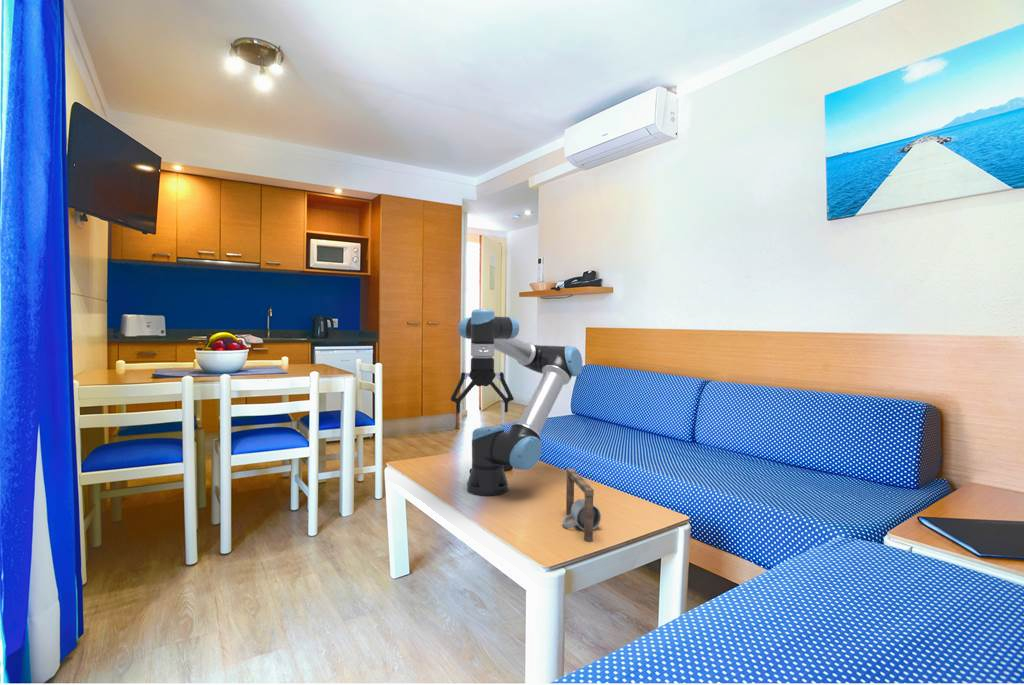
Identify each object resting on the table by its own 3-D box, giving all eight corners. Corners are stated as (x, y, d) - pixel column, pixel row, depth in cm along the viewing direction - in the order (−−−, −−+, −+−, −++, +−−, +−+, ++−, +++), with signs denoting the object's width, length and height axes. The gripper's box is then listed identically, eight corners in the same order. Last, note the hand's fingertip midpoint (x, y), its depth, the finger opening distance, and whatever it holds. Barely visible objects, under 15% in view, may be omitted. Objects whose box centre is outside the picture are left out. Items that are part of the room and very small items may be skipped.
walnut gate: (565, 512, 157) (565, 468, 157) (572, 512, 158) (573, 468, 158) (585, 541, 135) (586, 490, 135) (593, 541, 136) (594, 489, 135)
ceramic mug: (592, 520, 152) (591, 495, 151) (601, 530, 144) (601, 504, 143) (559, 522, 150) (558, 497, 150) (566, 533, 142) (566, 506, 142)
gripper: (443, 357, 152) (443, 425, 153) (522, 357, 156) (521, 424, 156) (443, 356, 160) (443, 421, 160) (518, 356, 163) (518, 420, 163)
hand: (482, 422), depth 158 cm, fingers open, 13 cm apart
